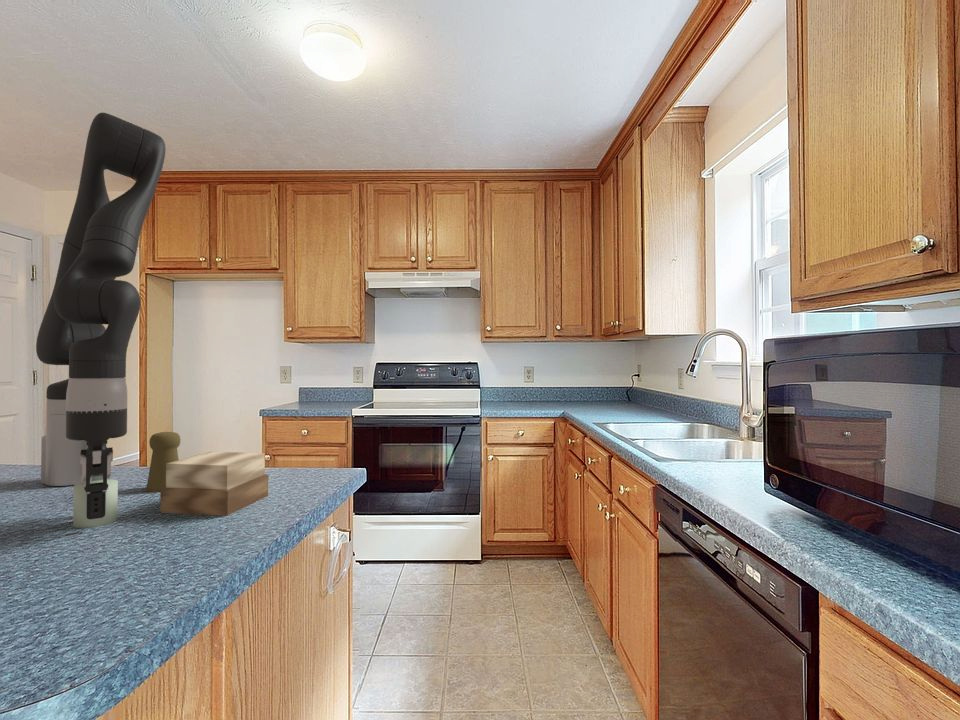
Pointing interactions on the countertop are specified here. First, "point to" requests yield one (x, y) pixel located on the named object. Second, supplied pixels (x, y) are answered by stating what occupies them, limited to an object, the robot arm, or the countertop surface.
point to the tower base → (213, 498)
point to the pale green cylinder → (81, 505)
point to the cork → (161, 458)
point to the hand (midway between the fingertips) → (96, 511)
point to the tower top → (215, 470)
